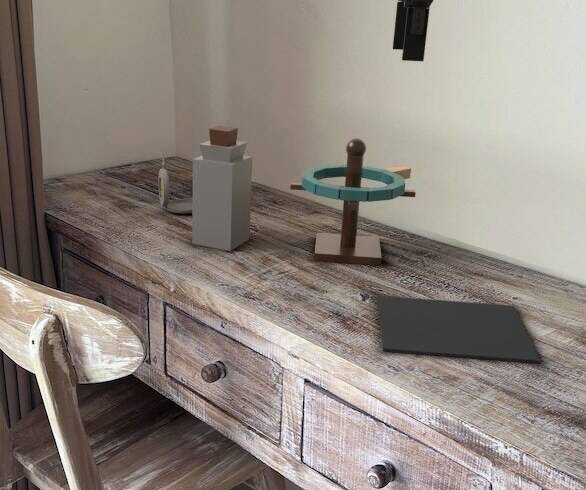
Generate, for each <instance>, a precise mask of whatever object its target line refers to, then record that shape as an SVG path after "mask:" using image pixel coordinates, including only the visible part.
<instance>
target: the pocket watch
mask: <svg viewBox="0 0 586 490" xmlns="http://www.w3.org/2000/svg"><path fill="white" fill-rule="evenodd" d="M160 157H161V160H162V163H161V164H162V168H160V169H159V171H158V182H157V183H158V197H159V202H160V206H161V207H163V208H165V210H167V212H170V213H175V214H181V215H189V214H192V206H193V199H173V200H170V197H171V195H170V194H171V187H170V186H171V185H170V176H169V172H168V170H167V162H166V159H165V158H164V155H163V154H161V155H160Z"/></svg>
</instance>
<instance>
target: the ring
mask: <svg viewBox="0 0 586 490" xmlns="http://www.w3.org/2000/svg"><path fill="white" fill-rule="evenodd" d="M346 166H347V164H329V165H318V166H315V167H312V168H309V169H305V170H303V173H302V181H301V183H302V187H303V188H304V189H306V190H305V191H306V192H309V193H311V194H313V195H315V196H318V197H323V198H327V199H333V200H337V201H339V200H340V201H344V200H345V201H360V202H361V203H362V202H363V203H372V202H373V203H374V202H383V201H392V200H394V199H397V198H398V197H402V196H401V195H403V194H404V192H405V190H406V181H405V180H408V179H410V178H411V173H412V167H407V166H404V165H398V166H394V167H388V168H378V167H373V166H367V165H366V166H365V165H363V168H362V179H366V180H370V181H375V182H379V183H383V184H385V186H377V187H369V188H353V187H341V186H342V185H337V186H336V185H335V184H332V183H331V184H330V183H326V182H323V181H321V180H323V179H331V178H333V179H334V178H346Z"/></svg>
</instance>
